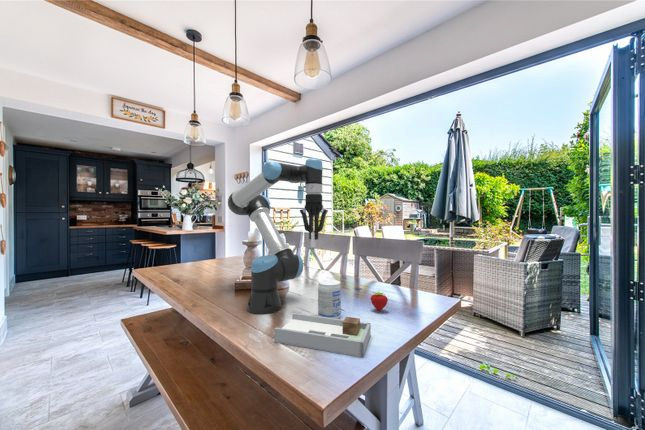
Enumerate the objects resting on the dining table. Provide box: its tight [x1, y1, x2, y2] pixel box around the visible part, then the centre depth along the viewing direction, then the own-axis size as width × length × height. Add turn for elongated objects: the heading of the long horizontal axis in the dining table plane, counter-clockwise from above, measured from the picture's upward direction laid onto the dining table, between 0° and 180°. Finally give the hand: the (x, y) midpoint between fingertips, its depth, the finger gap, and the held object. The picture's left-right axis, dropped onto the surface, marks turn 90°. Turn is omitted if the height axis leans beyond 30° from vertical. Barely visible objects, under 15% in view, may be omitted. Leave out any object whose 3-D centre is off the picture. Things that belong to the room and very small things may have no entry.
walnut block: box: [343, 316, 361, 336], centre depth 93 cm, size 5×5×4 cm
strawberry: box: [370, 291, 389, 313], centre depth 119 cm, size 6×8×10 cm
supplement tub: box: [317, 279, 342, 319], centre depth 113 cm, size 10×10×15 cm
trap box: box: [274, 312, 372, 358], centre depth 93 cm, size 30×15×4 cm, turn 71°
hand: (313, 246), depth 120 cm, fingers closed
